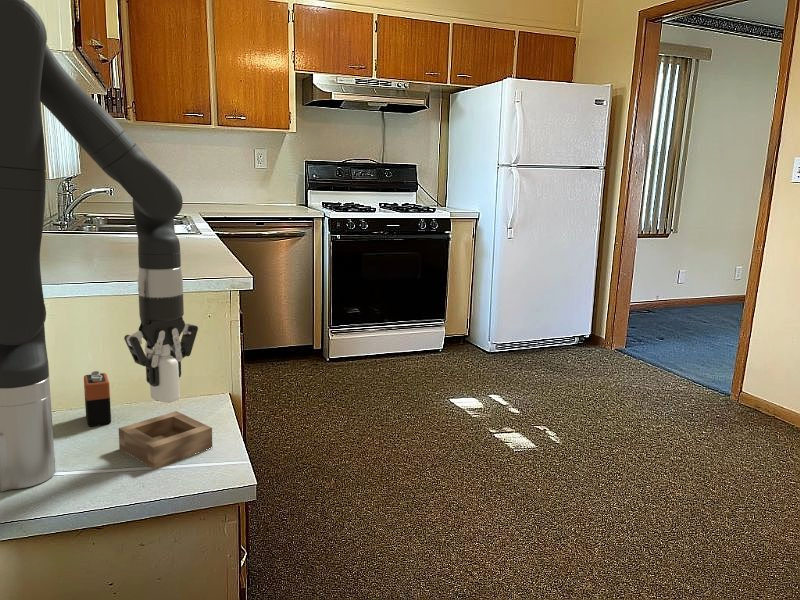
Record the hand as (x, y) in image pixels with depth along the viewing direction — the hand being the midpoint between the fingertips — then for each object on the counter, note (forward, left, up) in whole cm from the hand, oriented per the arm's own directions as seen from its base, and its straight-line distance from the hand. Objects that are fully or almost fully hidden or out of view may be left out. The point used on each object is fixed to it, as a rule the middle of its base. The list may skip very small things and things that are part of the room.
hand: (164, 382), depth 114 cm
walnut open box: (0, 0, -13) cm, 13 cm away
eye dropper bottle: (0, 0, -3) cm, 3 cm away
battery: (-2, +22, -13) cm, 26 cm away
